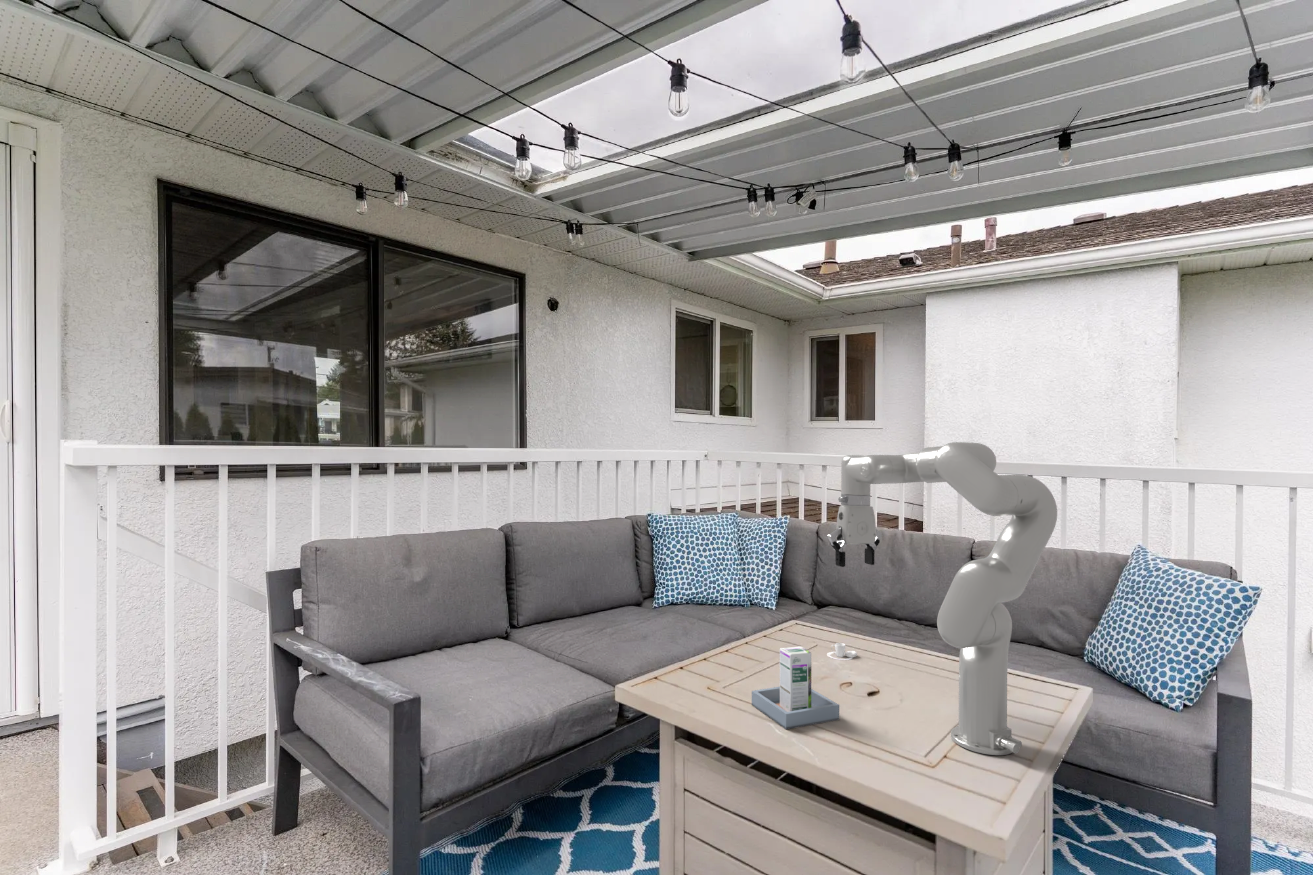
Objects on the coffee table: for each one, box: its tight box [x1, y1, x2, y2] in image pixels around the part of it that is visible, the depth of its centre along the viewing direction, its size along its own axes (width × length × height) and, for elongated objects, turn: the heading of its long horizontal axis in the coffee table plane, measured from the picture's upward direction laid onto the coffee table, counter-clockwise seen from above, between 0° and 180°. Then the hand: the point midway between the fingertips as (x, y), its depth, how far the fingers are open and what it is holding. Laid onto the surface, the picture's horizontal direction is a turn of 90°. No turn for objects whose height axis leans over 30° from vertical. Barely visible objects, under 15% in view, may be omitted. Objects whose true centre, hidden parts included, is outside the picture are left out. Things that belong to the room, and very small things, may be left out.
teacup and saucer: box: [826, 642, 858, 661], centre depth 199 cm, size 9×8×4 cm
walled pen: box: [751, 686, 840, 730], centre depth 156 cm, size 15×15×4 cm
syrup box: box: [779, 645, 812, 712], centre depth 156 cm, size 6×6×14 cm
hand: (855, 565), depth 171 cm, fingers open, 9 cm apart
